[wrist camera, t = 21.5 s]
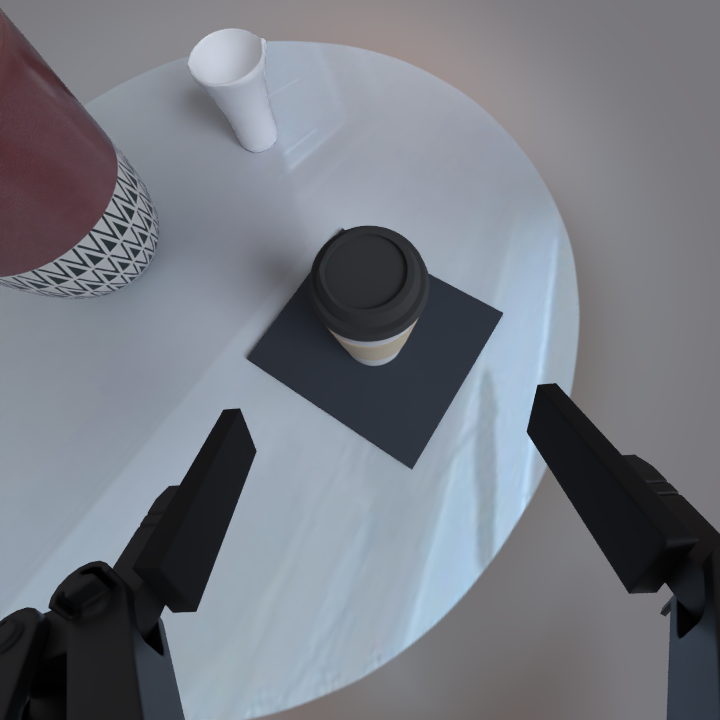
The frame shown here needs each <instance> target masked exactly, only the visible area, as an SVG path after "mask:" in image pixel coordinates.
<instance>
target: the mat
mask: <svg viewBox="0 0 720 720" xmlns="http://www.w3.org/2000/svg"><path fill="white" fill-rule="evenodd" d="M343 231H345V230H344V229H342V230H341V231H340V232H339V233H341V232H343ZM310 274H311V272H310V273H309V275H308V276H307V278H306V279H305V280H304V282H303V283H302V284H301V286H300V287H299V288H298V290H297V291H296V293H295V294H294V295H293V297H292V298H291V299H290V301H289V302H288V303H287V305H286V306H285V308H284V309H283V310H282V312H281V313H280V314H279V316H278V317H277V319H276V320H275V321H274V323H273V324H272V325H271V327H270V328H269V329H268V331H267V332H266V334H265V335H264V336H263V338H262V339H261V340H260V342H259V343H258V344H257V346H256V347H255V349H254V350H253V351H252V353H251V354H250V355H249V357H248V358H247V359H248V360H249V361H251V362H252V363H254V364H255V365H257V366H258V367H260V368H261V369H263V370H264V371H266V372H267V373H269V374H270V375H272V376H273V377H275V378H276V379H277V380H279V381H280V382H282V383H283V384H285V385H286V386H288V387H289V388H291V389H292V390H294V391H295V392H297V393H298V394H300V395H301V396H303V397H304V398H306V399H307V400H309V401H310V402H312V403H313V404H315V405H316V406H318V407H319V408H321V409H322V410H324V411H325V412H327V413H328V414H330V415H331V416H333V417H334V418H336V419H337V420H339V421H340V422H342V423H343V424H345V425H346V426H348V427H349V428H351V429H352V430H354V431H355V432H357V433H358V434H360V435H361V436H363V437H364V438H366V439H367V440H369V441H370V442H372V443H373V444H375V445H376V446H378V447H379V448H381V449H382V450H384V451H385V452H387V453H388V454H390V455H391V456H393V457H394V458H396V459H397V460H399V461H400V462H402V463H403V464H405V465H406V466H408V467H409V468H411V469H413V467H414V465H415V464H416V462H417V460H418V458H419V457H420V455H421V453H422V452H423V450H424V448H425V447H426V445H427V443H428V441H429V440H430V438H431V436H432V435H433V433H434V431H435V429H436V428H437V426H438V424H439V423H440V421H441V419H442V417H443V416H444V414H445V412H446V411H447V409H448V407H449V406H450V404H451V402H452V400H453V399H454V397H455V395H456V394H457V392H458V390H459V388H460V387H461V385H462V383H463V382H464V380H465V378H466V377H467V375H468V373H469V371H470V370H471V368H472V366H473V365H474V363H475V361H476V359H477V358H478V356H479V354H480V353H481V351H482V349H483V347H484V346H485V344H486V342H487V341H488V339H489V337H490V336H491V334H492V332H493V330H494V329H495V327H496V325H497V324H498V322H499V320H500V318H501V317H502V315H503V313H502V312H500V311H498V310H497V309H495V308H493V307H491V306H489V305H487V304H485V303H483V302H481V301H479V300H478V299H476V298H474V297H472V296H470V295H468V294H466V293H464V292H462V291H460V290H459V289H457V288H455V287H453V286H451V285H449V284H447V283H445V282H443V281H441V280H439V279H438V278H436V277H434V276H432V275H430V274H428V275H429V283H430V288H429V296H428V300H427V303H426V305H425V308H424V310H423V311H422V313H421V315H420V316H419V317H418V320H417V321H416V323H415V325H414V327H413V329H412V331H411V333H410V335H409V337H408V338H407V340H406V342H405V344H404V345H403V346H402V348H401V349H400V351H399V353H398V354H397V356H396V357H395V358H394V359H392V360H391V361H389V362H388V363H386V364H383V365H378V366H370V365H365V364H362V363H360V362H358V361H357V360H355V359H354V358H353V357H352V356H351V355H350V353H349V352H348V351H347V350H346V349H345V348H344V347H343V346H342V345H341V344H340V342H339V341H338V340H337V339H336V338H335V336H334V335H333V334H332V333H331V332H330V330H329V329H328V328H327V327H326V326H325V325H324V324H323V322H322V321H321V320H320V319H319V317H318V316H317V314H316V313H315V311H314V308H313V306H312V303H311V299H310V292H309V286H310Z"/></svg>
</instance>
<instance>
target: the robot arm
mask: <svg viewBox="0 0 720 720" xmlns="http://www.w3.org/2000/svg"><path fill="white" fill-rule="evenodd" d="M527 433H528V435H529V436H530V438H531V440H532V441H533V443H534V444H535V446H536V448H537V449H538V451H539V452H540V454H541V455H542V457H543V459H544V460H545V462H546V463H547V465H548V466H549V468H550V470H551V471H552V473H553V474H554V476H555V477H556V479H557V481H558V482H559V484H560V485H561V487H562V488H563V490H564V492H565V493H566V495H567V496H568V498H569V499H570V501H571V502H572V504H573V506H574V507H575V509H576V511H577V512H578V514H579V515H580V517H581V518H582V520H583V522H584V523H585V525H586V526H587V528H588V530H589V531H590V533H591V534H592V536H593V537H594V539H595V541H596V542H597V544H598V545H599V547H600V548H601V550H602V552H603V553H604V555H605V556H606V558H607V559H608V561H609V562H610V564H611V566H612V567H613V569H614V570H615V572H616V574H617V575H618V577H619V578H620V580H621V582H622V583H623V585H624V586H625V588H626V590H627V591H628V593H629V594H631V593H632V594H633V593H656V592H657V591H658V590H659V589H660V588H661V586H662V585H663V584H664V583H666V584H667V585H668V587H669V588H670V589H671V591H672V592H673V594H674V595H673V596H672V597H671V599H670V600H669V601H668V602H667V603H666V604H665V605H664V607H663V608H662V611H661V613H660V614H662V615H664V616H666V615H667V614H668V613H669V612H670V611H671V614H670V642H669V670H668V699H667V720H720V534H719V533H718V532H717V531H716V530H715V529H714V527H713V526H711V524H710V523H708V521H707V520H706V519H705V518H704V517H703V516H702V515H701V514H700V513H699V512H698V511H697V510H696V509H695V508H694V507H693V506H692V505H691V504H690V503H689V502H688V501H687V500H686V499H685V498H684V497H683V496H682V495H679V494H678V491H677V490H676V489H675V488H674V487H673V486H672V485H671V484H670V483H667V480H666V479H665V478H664V477H663V476H662V475H661V474H660V473H659V472H658V471H657V470H656V469H655V468H654V467H653V466H652V465H650V464H649V463H647V462H646V461H644V460H642V459H641V458H639V457H637V456H636V455H621V454H620V453H619V451H618V450H617V449H616V448H615V447H614V446H613V445H612V444H611V443H610V442H609V441H608V440H607V439H606V437H605V436H604V435H603V434H602V433H601V432H600V431H599V430H598V429H597V428H596V426H595V425H594V424H593V423H592V422H591V421H590V420H589V419H588V418H587V417H586V415H585V414H584V413H583V412H582V411H581V410H580V409H579V408H578V407H577V406H576V405H575V404H574V402H573V401H572V400H571V399H570V398H569V397H568V396H567V395H566V394H565V393H564V392H563V390H562V389H561V388H560V387H559V386H558V385H557V384H556V383H554V384H541V385H537V389H536V394H535V398H534V402H533V407H532V411H531V415H530V420H529V424H528V428H527ZM255 454H256V448H255V446H254V443H253V441H252V438H251V435H250V433H249V430H248V428H247V425H246V422H245V420H244V417H243V415H242V412H241V410H240V408H239V409H226V410H223V412H222V413H221V415H220V417H219V419H218V420H217V422H216V424H215V425H214V427H213V429H212V431H211V432H210V434H209V436H208V438H207V439H206V441H205V443H204V444H203V446H202V448H201V450H200V451H199V453H198V455H197V457H196V458H195V460H194V462H193V463H192V465H191V467H190V469H189V470H188V472H187V474H186V476H185V477H184V479H183V481H182V482H181V484H180V485H178V486H169V487H168V488H167V489H166V490H165V491H164V492H163V493H162V494H161V495H160V496H159V497H158V498H157V499H156V500H155V502H154V503H153V505H152V506H151V508H150V510H149V511H148V515H147V516H145V518H144V519H143V521H142V522H141V524H140V527H138V529H137V530H136V532H135V534H134V535H133V537H132V538H131V540H130V542H129V543H128V545H127V546H126V548H125V550H124V551H123V553H122V554H121V556H120V558H119V559H118V561H117V562H116V564H115V565H114V567H113V569H112V568H111V567H110V566H109V565H108V564H107V563H105V562H102V561H95V562H90V563H88V564H86V565H84V566H82V567H80V568H78V569H77V570H75V571H74V572H73V573H71V574H70V575H69V576H68V577H67V578H66V579H65V580H64V581H63V582H62V583H61V584H60V585H59V586H58V587H57V589H56V591H55V592H54V594H53V595H52V597H51V600H50V603H49V607H48V608H50V609H51V610H52V611H49V612H47V613H44V614H42V613H41V612H39V611H38V610H36V609H35V608H28V607H27V608H24V609H21V610H17V611H15V612H14V613H12V614H10V615H9V616H7V617H5V618H4V619H2V620H1V621H0V720H185V718H184V714H183V709H182V705H181V700H180V696H179V691H178V687H177V682H176V678H175V673H174V669H173V664H172V660H171V655H170V651H169V646H168V642H167V638H166V633H165V629H164V624H163V621H162V619H161V618H160V615H161V613H162V611H163V609H164V607H165V605H166V606H167V607H168V608H169V609H170V610H171V611H172V612H173V613H178V612H196V611H197V609H198V606H199V603H200V601H201V598H202V595H203V593H204V590H205V587H206V585H207V582H208V579H209V577H210V574H211V571H212V569H213V566H214V563H215V561H216V558H217V555H218V553H219V550H220V547H221V545H222V542H223V539H224V537H225V534H226V531H227V529H228V526H229V523H230V521H231V518H232V515H233V513H234V510H235V507H236V505H237V502H238V499H239V497H240V494H241V491H242V489H243V486H244V483H245V481H246V478H247V475H248V473H249V470H250V467H251V465H252V462H253V459H254V457H255Z"/></svg>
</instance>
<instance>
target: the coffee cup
mask: <svg viewBox="0 0 720 720" xmlns="http://www.w3.org/2000/svg"><path fill="white" fill-rule="evenodd" d="M429 288H430V283H429V275H428V271H427V268H426V266H425V263H424V261H423V260H422V258H421V256H420V254H419V252H418V251H417V249H416V248H415V247H414V246H413V245H412V243H411V242H410V241H408V240H407V239H406V238H405V237H403V236H402V235H400V234H399V233H397V232H395V231H392V230H390V229H387V228H383V227H378V226H359V227H354V228H351V229H348V230H345V231H343V232H341V233H339V234H337V235H336V236H334V237H333V238H331V239H330V240H329V241H328V242H327V243H326V244H325V245H324V246H323V247H322V248H321V250H320V251H319V253H318V254H317V256H316V258H315V260H314V263H313V265H312V269H311V274H310V286H309V292H310V299H311V303H312V306H313V308H314V311H315V313H316V314H317V316H318V317H319V319H320V320H321V321H322V322H323V324H324V325H325V326H326V327H327V328H328V329H329V330H330V332H331V333H332V334H333V335H334V336H335V338H336V339H337V340H338V341H339V342H340V344H341V345H342V346H343V347H344V348H345V349H346V350H347V351H348V352H349V353H350V355H351V356H352V357H353V358H354V359H355V360H357V361H358V362H360V363H362V364H365V365H370V366H378V365H383V364H386V363H388V362H389V361H391V360H392V359H394V358H395V357H396V356H397V354H398V353H399V351H400V349H401V348H402V346H403V345H404V344H405V342H406V340H407V338H408V337H409V335H410V333H411V331H412V329H413V327H414V325H415V323H416V321H417V320H418V317H419V316H420V315H421V313H422V311H423V310H424V308H425V305H426V303H427V300H428V296H429Z"/></svg>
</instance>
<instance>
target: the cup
mask: <svg viewBox="0 0 720 720" xmlns="http://www.w3.org/2000/svg"><path fill="white" fill-rule="evenodd" d="M266 51H267V44H266V41H265V40H264V39H263V38H258V37H257V36H256V35H255V34H253V33H251V32H249V31H247V30H242V29H237V28H229V29H223V30H219V31H216V32H213V33H211V34H209V35H207V36H206V37H204V38H203V39H202V40H201V41H200V42H199V43H198V44H197V45H196V46H195V47H194V48H193V50H192V52H191V54H190V56H189V60H188V64H187V66H188V68H189V70H190V72H191V74H192V76H193V78H194V80H195V81H196V82H197V83H198V84H199V85H200V86H201V87H202V88H203V89H205V90H206V91H207V92H208V93H209V94H210V95H211V97H212V98H213V100H214V101H215V103H216V104H217V105H218V107H219V108H220V109H221V110H222V111H223V112H224V114H225V116H226V117H227V119H228V120H229V122H230V124H231V126H232V127H233V129H234V131H235V133H236V135H237V137H238V139H239V141H240V143H241V145H242V146H243V147H244V148H245V149H247V150H249V151H251V152H258V153H259V152H263V151H266V150H268V149H270V148H271V147H272V146H273V145H274V143H275V142H276V140H277V136H278V131H277V127H276V125H275V123H274V120H273V117H272V113H271V110H270V106H269V102H268V98H267V92H266V83H265V63H266Z"/></svg>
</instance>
